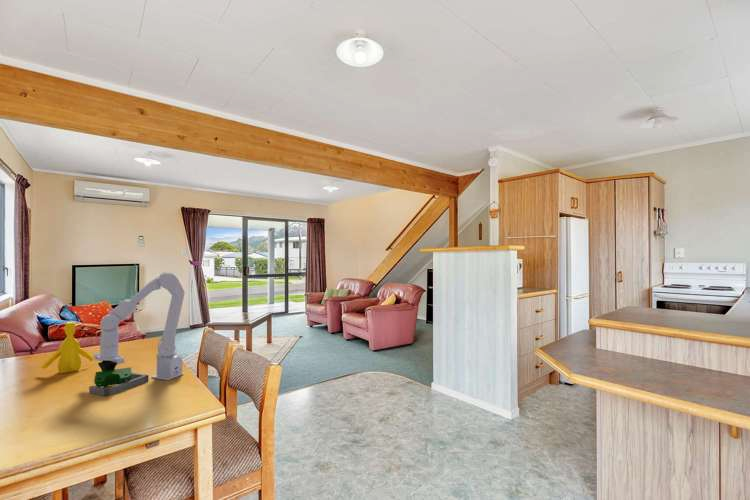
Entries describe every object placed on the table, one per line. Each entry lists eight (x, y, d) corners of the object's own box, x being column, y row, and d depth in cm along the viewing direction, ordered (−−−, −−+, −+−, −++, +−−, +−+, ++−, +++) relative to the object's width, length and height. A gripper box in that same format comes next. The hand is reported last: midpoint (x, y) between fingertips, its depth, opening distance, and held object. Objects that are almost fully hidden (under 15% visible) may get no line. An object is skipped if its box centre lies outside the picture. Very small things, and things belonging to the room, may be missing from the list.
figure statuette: (93, 364, 163) (94, 317, 163) (96, 368, 157) (96, 320, 157) (40, 374, 150) (41, 323, 150) (41, 379, 145) (42, 325, 145)
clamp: (101, 400, 133) (88, 384, 129) (103, 390, 138) (90, 374, 134) (135, 384, 138) (124, 368, 134) (136, 375, 143) (125, 359, 139)
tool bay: (148, 381, 143) (148, 374, 143) (106, 396, 127) (106, 389, 127) (132, 378, 146) (132, 372, 146) (89, 393, 130) (89, 386, 130)
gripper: (85, 345, 137) (84, 379, 137) (111, 349, 132) (110, 385, 132) (104, 341, 144) (103, 374, 144) (130, 345, 139) (128, 379, 139)
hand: (108, 379), depth 138 cm, fingers closed, pressing on clamp
